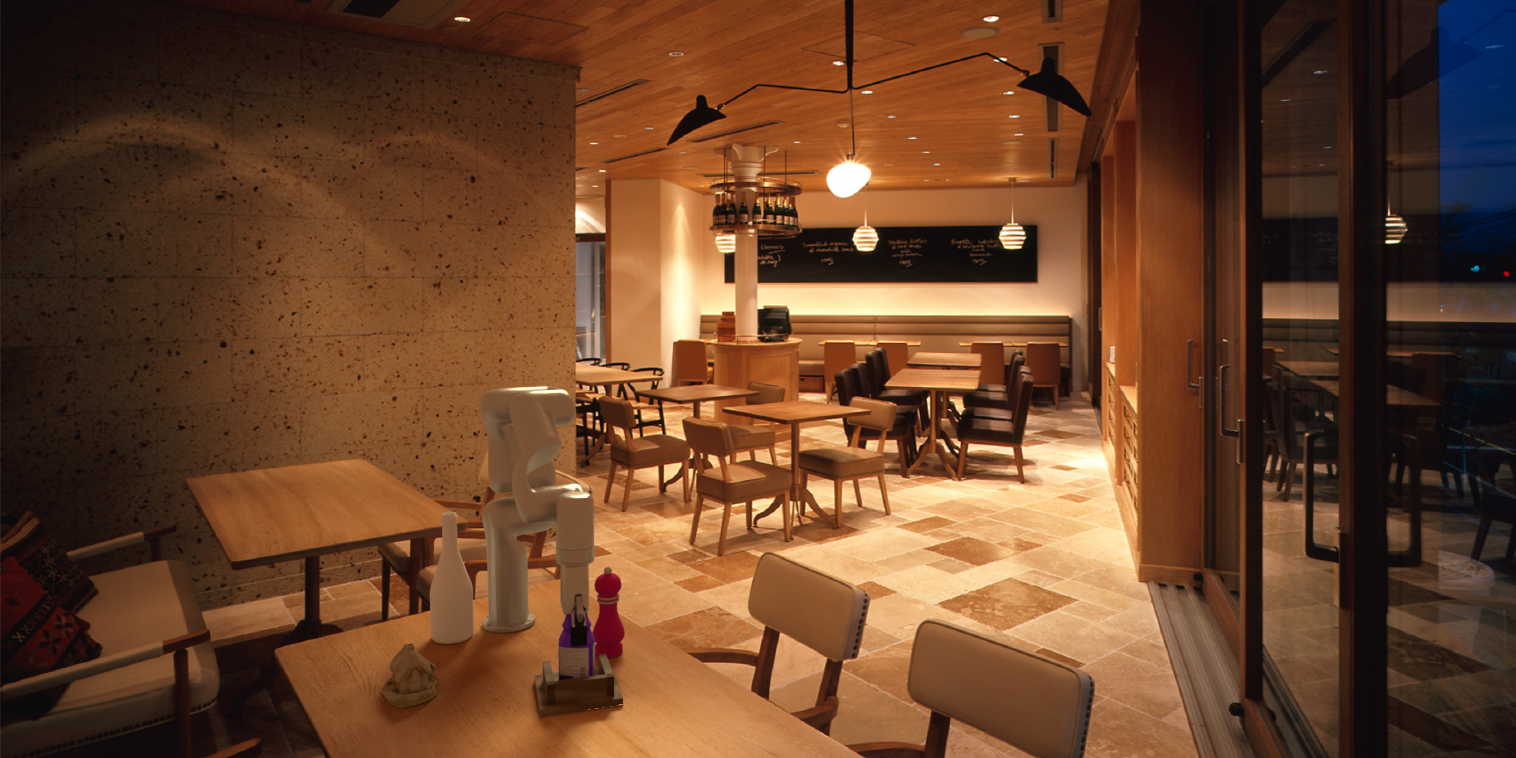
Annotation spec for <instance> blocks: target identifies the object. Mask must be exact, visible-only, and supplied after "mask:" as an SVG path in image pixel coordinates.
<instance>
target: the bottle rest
mask: <svg viewBox="0 0 1516 758" xmlns="http://www.w3.org/2000/svg"><path fill="white" fill-rule="evenodd" d="M614 672H615V671H614V669H613V667H612V665H611V663H610V661H609V658H607V655H606V654H600V655H599V657H598V666H597V667H596V666H595V676H589V677H581V678H573V679H565V680H559V671H556V672H553V668H552V663H551V660H545V661H542V674H534V687H535V693H536V700H537V707H538V713H539V718H544V717H552V716H558V714H559V715H566V714H573V713H579V712H580V713H581V712H586V711H585V710H587V711H589V710H588V709H594V710H596V709H595V708H601V709H603V708H602V707H608V708H611V707H610V706H615V707H618V706H617V705H619V704H623V705H624V697H623V694H622V692H621V688H620V686H619V683H618V681H617V680H618V679H617V678H616V675H615V673H614Z"/></svg>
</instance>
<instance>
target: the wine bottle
mask: <svg viewBox="0 0 1516 758" xmlns="http://www.w3.org/2000/svg"><path fill="white" fill-rule="evenodd" d="M458 520H459V518H458V514H457V512H456V511H446V512H443V513H441V516H440V523H441V524H442V526H441V531H442V532H441V533H442V534H441V535H442V538H441V539H442V540H441V541H442V542H441V545H442V546H441V547H442V548H441V553H440V556H439V560H438V563H437V566H436V569H435V572H434V576H433V578H432V580H431V581H432V582H431V585H430V589H429V603H430V604H429V606H430V607H429V608H430V610H429V611H430V612H429V613H430V635H431V639H432V641H434V642H435V643H437V644H441V645H442V644H443V645H451V644H458V643H462V642H465V641H467V640H469V639H470V638H471V637H473V634H474V630H475V627H474V598H473V597H474V594H473V593H474V590H473V587H474V586H473V584H472V580H471V578H470V576H469V573H468V571H467V568H466V566H465V563H464V561H463V558H462V555H461V552H460V550H459V549H460V548H459V543H458V524H457V523H458V522H459V521H458Z"/></svg>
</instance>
